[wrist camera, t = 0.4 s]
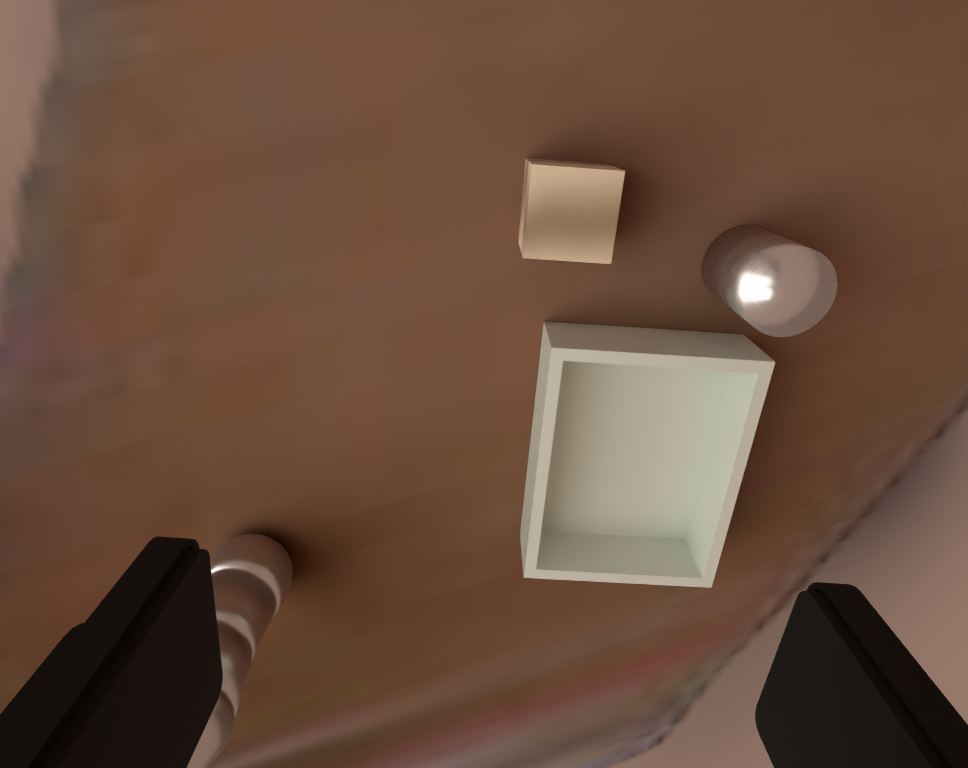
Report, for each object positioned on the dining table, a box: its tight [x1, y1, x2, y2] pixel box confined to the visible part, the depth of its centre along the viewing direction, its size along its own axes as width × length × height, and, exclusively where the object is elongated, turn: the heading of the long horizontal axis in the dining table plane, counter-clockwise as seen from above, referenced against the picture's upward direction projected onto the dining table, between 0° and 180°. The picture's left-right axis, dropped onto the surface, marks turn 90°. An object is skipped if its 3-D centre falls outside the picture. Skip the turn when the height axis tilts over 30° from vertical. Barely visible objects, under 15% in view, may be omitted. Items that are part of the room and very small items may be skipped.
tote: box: [520, 321, 775, 588], centre depth 42 cm, size 18×14×5 cm
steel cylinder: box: [702, 225, 837, 337], centre depth 36 cm, size 5×5×7 cm
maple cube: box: [518, 158, 625, 264], centre depth 36 cm, size 5×5×5 cm
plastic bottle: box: [187, 534, 293, 768], centre depth 40 cm, size 6×7×20 cm
